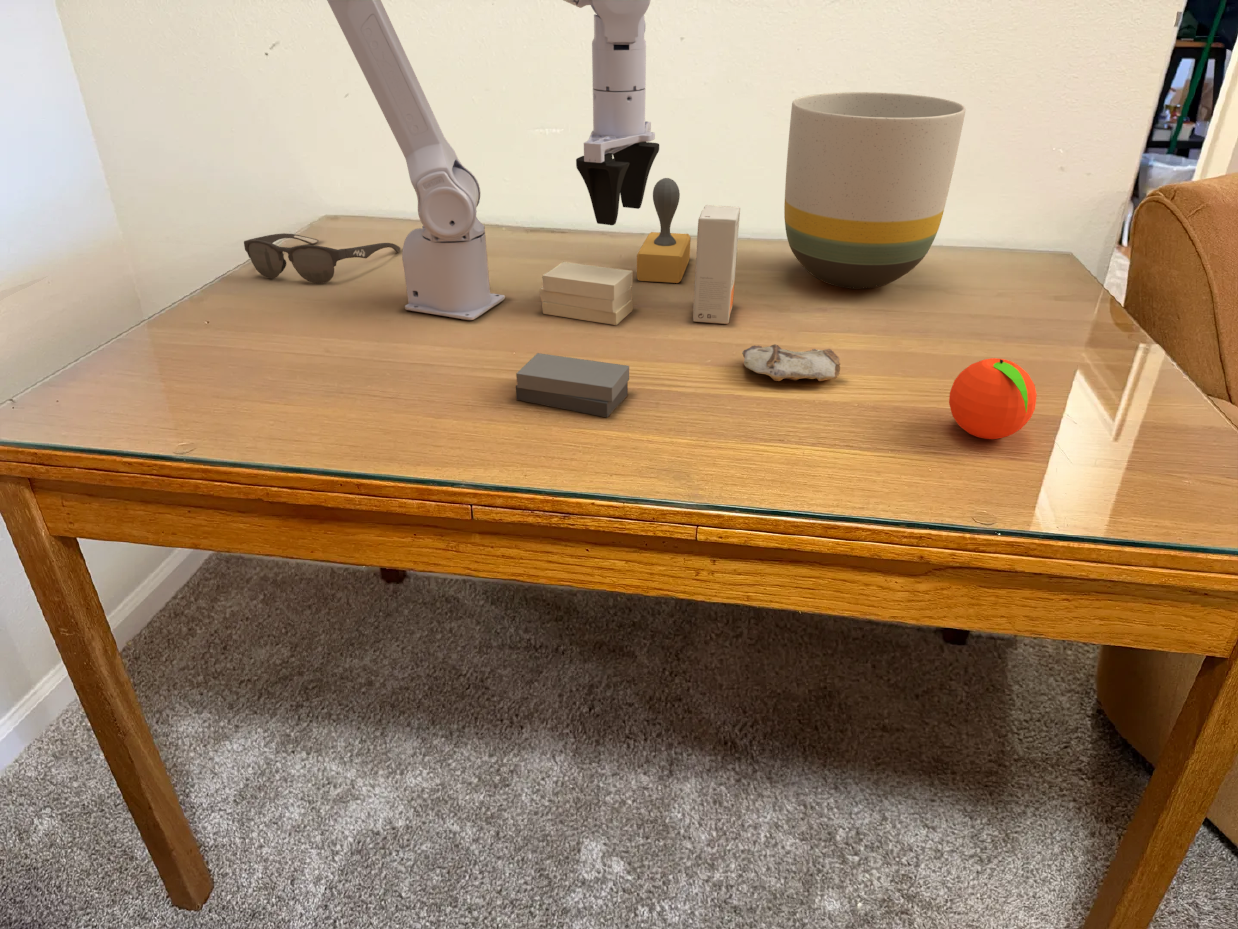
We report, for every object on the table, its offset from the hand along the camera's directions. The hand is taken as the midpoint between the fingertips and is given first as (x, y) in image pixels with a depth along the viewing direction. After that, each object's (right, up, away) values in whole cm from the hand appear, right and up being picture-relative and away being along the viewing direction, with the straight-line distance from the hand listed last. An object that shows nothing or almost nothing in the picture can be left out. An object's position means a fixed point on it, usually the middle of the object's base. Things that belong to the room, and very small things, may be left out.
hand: (619, 215), depth 98 cm
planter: (+30, -5, +11) cm, 33 cm away
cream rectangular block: (-4, -8, +1) cm, 9 cm away
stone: (+17, -20, -13) cm, 29 cm away
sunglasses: (-40, -1, +18) cm, 44 cm away
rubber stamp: (+6, -3, +15) cm, 17 cm away
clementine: (+32, -27, -24) cm, 48 cm away
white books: (-4, -11, +2) cm, 12 cm away
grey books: (-5, -23, -17) cm, 29 cm away
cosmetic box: (+11, -11, +1) cm, 16 cm away
